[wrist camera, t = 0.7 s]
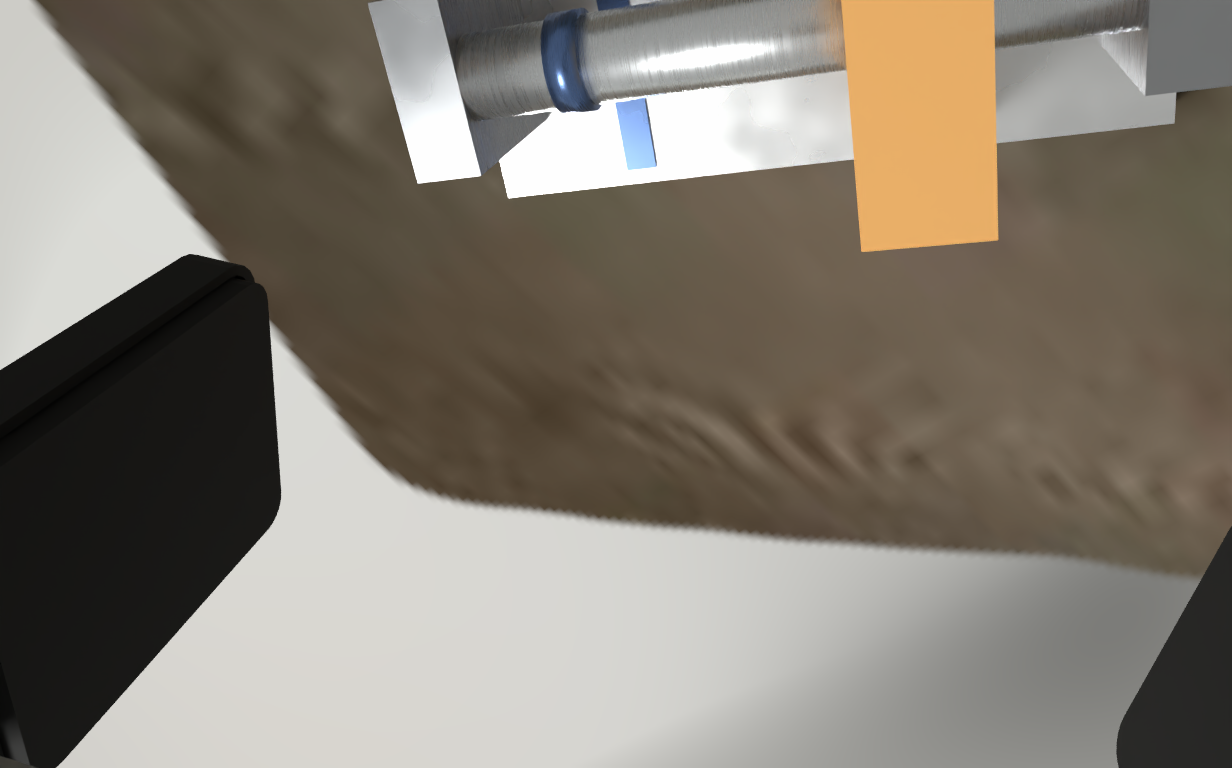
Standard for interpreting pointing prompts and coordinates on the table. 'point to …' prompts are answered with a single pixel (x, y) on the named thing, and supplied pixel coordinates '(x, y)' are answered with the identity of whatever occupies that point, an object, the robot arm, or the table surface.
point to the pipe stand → (743, 81)
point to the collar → (923, 120)
